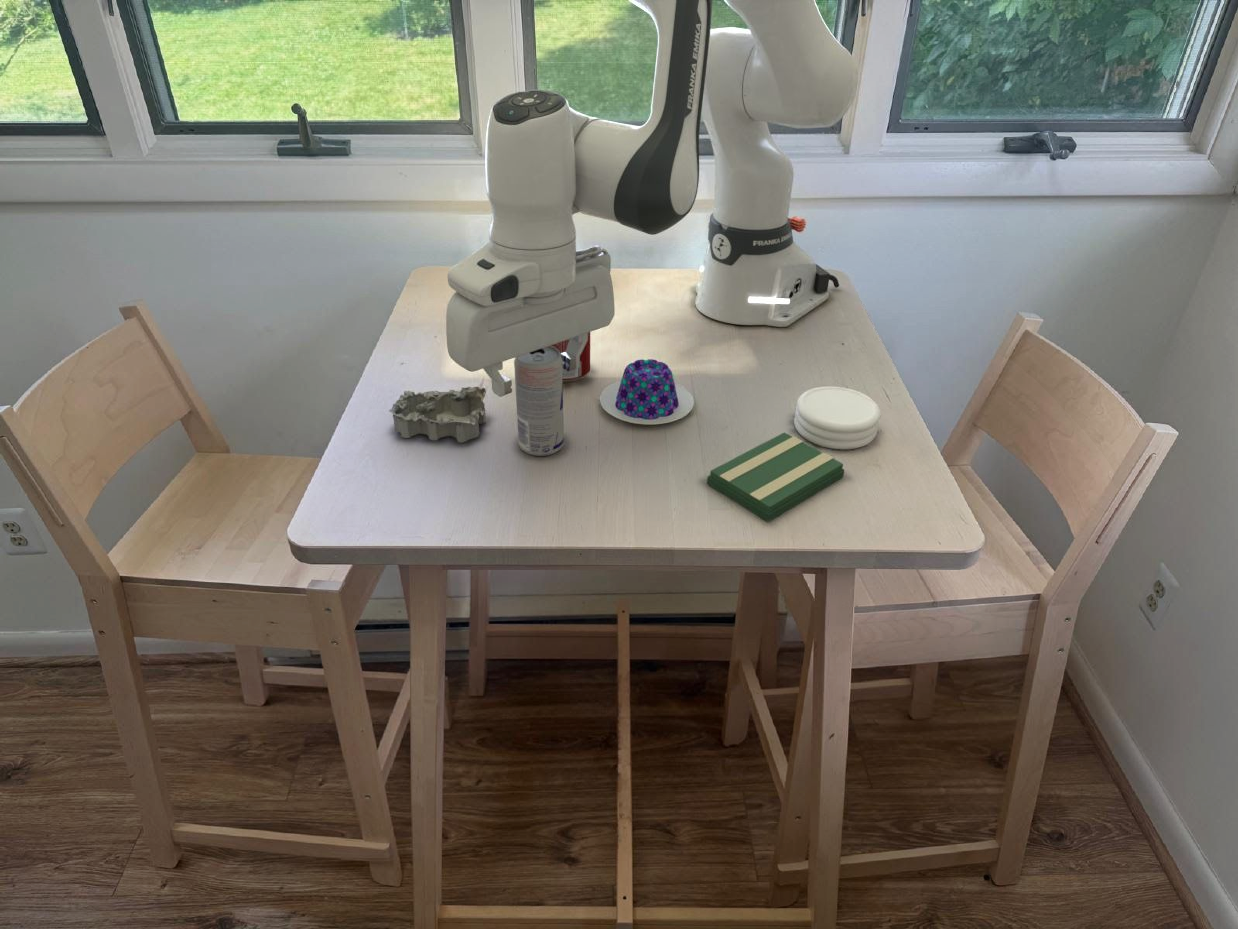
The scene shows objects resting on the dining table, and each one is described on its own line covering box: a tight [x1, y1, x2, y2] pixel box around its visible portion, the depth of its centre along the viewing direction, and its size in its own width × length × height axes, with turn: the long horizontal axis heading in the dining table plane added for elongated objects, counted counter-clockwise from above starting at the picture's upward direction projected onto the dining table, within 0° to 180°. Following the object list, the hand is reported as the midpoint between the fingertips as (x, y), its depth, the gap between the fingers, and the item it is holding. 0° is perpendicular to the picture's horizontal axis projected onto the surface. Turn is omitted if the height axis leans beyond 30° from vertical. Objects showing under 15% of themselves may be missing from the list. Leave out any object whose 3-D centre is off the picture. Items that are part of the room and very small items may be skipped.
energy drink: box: [513, 346, 565, 457], centre depth 100 cm, size 5×5×12 cm
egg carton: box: [388, 386, 487, 443], centre depth 105 cm, size 11×8×4 cm
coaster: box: [793, 385, 881, 450], centre depth 106 cm, size 10×10×4 cm
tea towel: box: [706, 432, 845, 522], centre depth 97 cm, size 13×9×2 cm
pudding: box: [599, 358, 695, 425], centre depth 110 cm, size 12×12×5 cm
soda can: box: [550, 332, 591, 384], centre depth 114 cm, size 7×7×12 cm
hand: (536, 380), depth 98 cm, fingers open, 8 cm apart
